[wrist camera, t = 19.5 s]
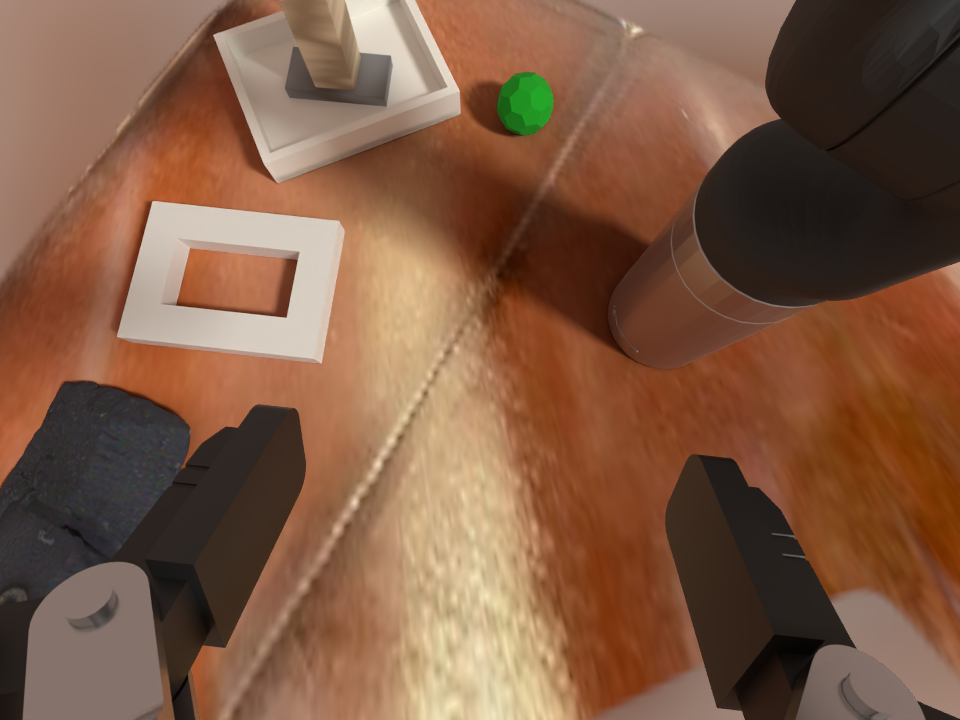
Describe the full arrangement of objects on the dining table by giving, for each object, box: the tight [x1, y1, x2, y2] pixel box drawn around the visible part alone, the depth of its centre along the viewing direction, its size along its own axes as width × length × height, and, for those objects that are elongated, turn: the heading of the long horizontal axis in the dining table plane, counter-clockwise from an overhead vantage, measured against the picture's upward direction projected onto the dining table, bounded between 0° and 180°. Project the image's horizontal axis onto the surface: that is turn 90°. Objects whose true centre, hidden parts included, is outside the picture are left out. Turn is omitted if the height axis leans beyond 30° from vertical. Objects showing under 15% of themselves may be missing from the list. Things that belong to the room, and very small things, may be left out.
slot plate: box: [117, 201, 345, 364], centre depth 42 cm, size 16×12×2 cm
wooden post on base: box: [279, 0, 393, 107], centre depth 40 cm, size 9×4×12 cm, turn 85°
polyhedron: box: [497, 72, 554, 136], centre depth 44 cm, size 5×5×5 cm
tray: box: [213, 0, 460, 184], centre depth 46 cm, size 18×14×3 cm
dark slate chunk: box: [0, 382, 191, 605], centre depth 37 cm, size 15×22×5 cm
